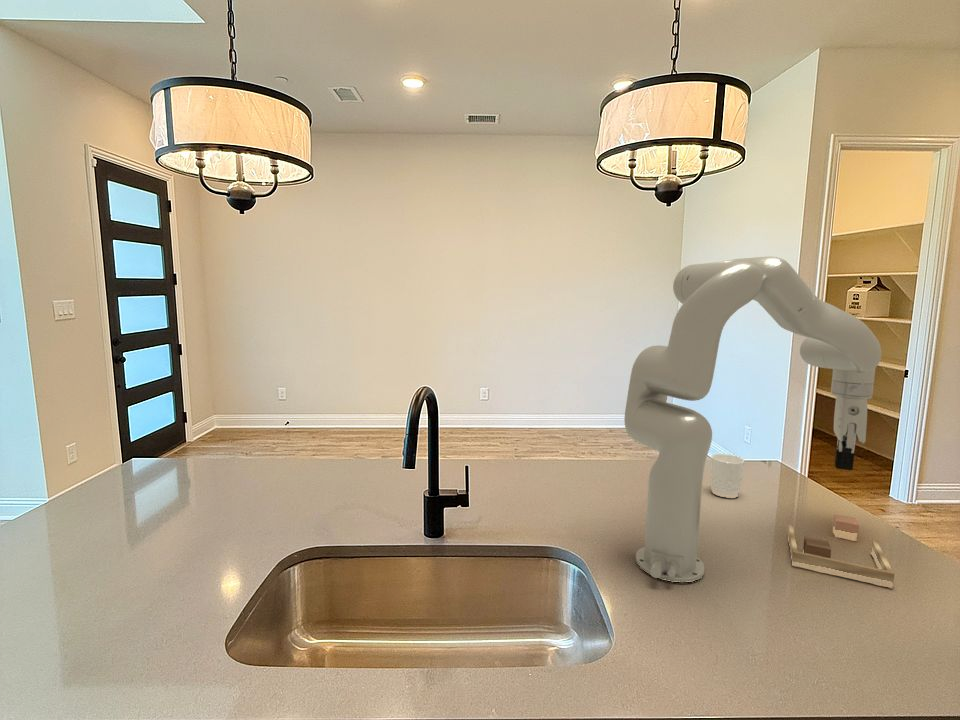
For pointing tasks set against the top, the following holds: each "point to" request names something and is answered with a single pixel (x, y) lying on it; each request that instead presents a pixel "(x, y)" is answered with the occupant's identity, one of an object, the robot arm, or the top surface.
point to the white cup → (726, 473)
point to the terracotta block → (845, 523)
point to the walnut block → (817, 547)
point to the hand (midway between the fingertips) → (843, 468)
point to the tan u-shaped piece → (848, 567)
